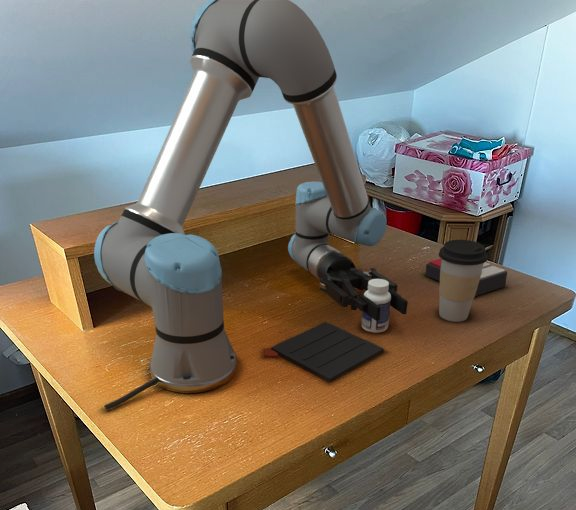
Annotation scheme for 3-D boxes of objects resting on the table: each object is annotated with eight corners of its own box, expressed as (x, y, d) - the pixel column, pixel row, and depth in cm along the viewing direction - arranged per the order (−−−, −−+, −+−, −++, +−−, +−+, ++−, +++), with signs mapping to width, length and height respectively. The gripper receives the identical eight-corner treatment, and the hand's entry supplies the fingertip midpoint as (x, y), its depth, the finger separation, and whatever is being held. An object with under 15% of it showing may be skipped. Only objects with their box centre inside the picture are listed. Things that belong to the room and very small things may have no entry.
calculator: (459, 251, 146) (509, 268, 135) (457, 268, 148) (505, 286, 137) (425, 260, 141) (474, 279, 130) (424, 277, 143) (472, 297, 132)
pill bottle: (388, 322, 123) (393, 278, 117) (387, 334, 118) (392, 289, 113) (362, 319, 123) (365, 275, 118) (359, 332, 119) (363, 287, 114)
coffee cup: (477, 327, 121) (491, 257, 112) (429, 323, 122) (440, 253, 114) (474, 307, 128) (487, 239, 120) (430, 303, 130) (439, 236, 122)
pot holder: (319, 387, 103) (320, 383, 102) (258, 353, 112) (258, 349, 111) (383, 352, 113) (384, 347, 112) (322, 323, 122) (322, 319, 122)
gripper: (366, 276, 136) (428, 318, 119) (294, 291, 130) (349, 338, 112) (369, 245, 132) (434, 284, 115) (294, 258, 126) (351, 302, 108)
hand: (391, 310), depth 114 cm, fingers closed on pill bottle, 5 cm apart
